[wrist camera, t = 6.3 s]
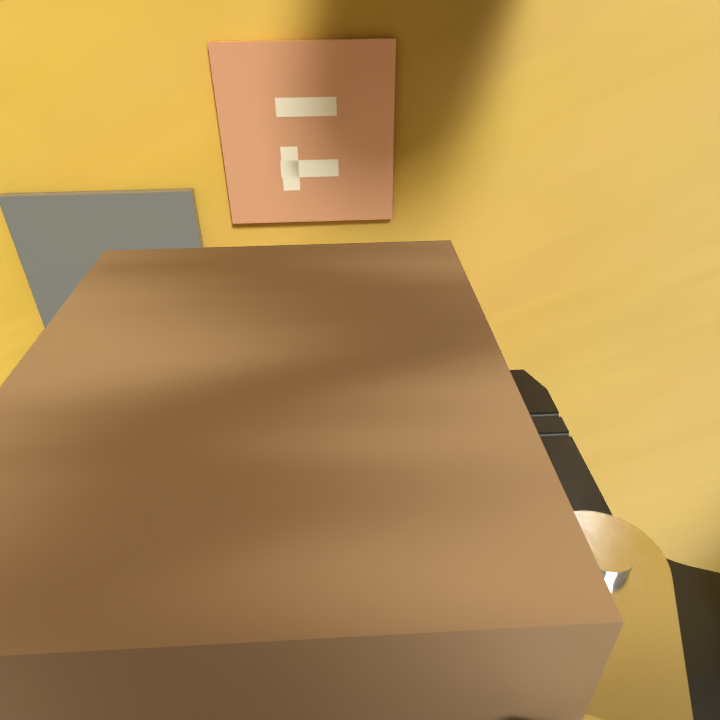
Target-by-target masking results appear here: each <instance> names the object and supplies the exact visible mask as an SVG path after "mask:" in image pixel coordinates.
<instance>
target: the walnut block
mask: <svg viewBox="0 0 720 720" xmlns="http://www.w3.org/2000/svg"><path fill="white" fill-rule="evenodd" d="M623 623H624V621H623V619H622V616H621V614H620V612H619V610H618V608H617V605H616V603H615V601H614V599H613V597H612V594H611V592H610V590H609V588H608V586H607V584H606V581H605V579H604V577H603V575H602V573H601V570H600V568H599V566H598V564H597V562H596V559H595V557H594V555H593V553H592V551H591V548H590V546H589V544H588V542H587V540H586V537H585V535H584V533H583V531H582V529H581V526H580V524H579V522H578V520H577V518H576V515H575V513H574V511H573V509H572V507H571V504H570V502H569V500H568V498H567V496H566V493H565V491H564V489H563V487H562V485H561V482H560V480H559V478H558V476H557V474H556V471H555V469H554V467H553V465H552V463H551V460H550V458H549V456H548V454H547V452H546V449H545V447H544V445H543V443H542V441H541V438H540V436H539V434H538V432H537V430H536V427H535V425H534V423H533V421H532V419H531V416H530V414H529V412H528V410H527V408H526V405H525V403H524V401H523V399H522V397H521V394H520V392H519V390H518V388H517V386H516V383H515V381H514V379H513V377H512V375H511V372H510V370H509V368H508V366H507V364H506V361H505V359H504V357H503V355H502V353H501V350H500V348H499V346H498V344H497V342H496V339H495V337H494V335H493V333H492V331H491V328H490V326H489V324H488V322H487V320H486V317H485V315H484V313H483V311H482V309H481V306H480V304H479V302H478V300H477V298H476V295H475V293H474V291H473V289H472V287H471V284H470V282H469V280H468V278H467V276H466V273H465V271H464V269H463V267H462V265H461V262H460V260H459V258H458V256H457V254H456V251H455V249H454V247H453V245H452V243H451V240H446V241H413V242H379V243H346V244H312V245H278V246H245V247H211V248H177V249H144V250H110V251H104V252H103V253H102V254H101V256H100V257H99V258H98V260H97V261H96V262H95V263H94V265H93V266H92V267H91V269H90V270H89V271H88V273H87V274H86V275H85V277H84V278H83V279H82V280H81V282H80V283H79V284H78V286H77V287H76V288H75V290H74V291H73V292H72V294H71V295H70V296H69V297H68V299H67V300H66V301H65V303H64V304H63V305H62V307H61V308H60V309H59V311H58V312H57V313H56V314H55V316H54V317H53V318H52V320H51V321H50V322H49V324H48V325H47V326H46V328H45V329H44V330H43V331H42V333H41V334H40V335H39V337H38V338H37V339H36V341H35V342H34V343H33V345H32V346H31V347H30V348H29V350H28V351H27V352H26V354H25V355H24V356H23V358H22V359H21V360H20V362H19V363H18V364H17V365H16V367H15V368H14V369H13V371H12V372H11V373H10V375H9V376H8V377H7V379H6V380H5V381H4V382H3V384H2V385H1V386H0V720H583V718H584V715H585V713H586V710H587V708H588V706H589V703H590V701H591V699H592V696H593V694H594V692H595V689H596V687H597V685H598V682H599V680H600V678H601V675H602V673H603V670H604V668H605V666H606V663H607V661H608V659H609V656H610V654H611V652H612V649H613V647H614V645H615V642H616V640H617V638H618V635H619V633H620V630H621V628H622V626H623Z"/></svg>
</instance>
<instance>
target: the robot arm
mask: <svg viewBox="0 0 720 720" xmlns="http://www.w3.org/2000/svg"><path fill="white" fill-rule="evenodd" d="M510 372H511V375H512V377H513V379H514V381H515V383H516V386H517V388H518V390H519V392H520V394H521V397H522V399H523V401H524V403H525V405H526V408H527V410H528V412H529V414H530V416H531V419H532V421H533V423H534V425H535V427H536V430H537V432H538V434H539V436H540V438H541V441H542V443H543V445H544V447H545V449H546V452H547V454H548V456H549V458H550V460H551V463H552V465H553V467H554V469H555V471H556V474H557V476H558V478H559V480H560V482H561V485H562V487H563V489H564V491H565V493H566V496H567V498H568V500H569V502H570V504H571V507H572V509H573V511H574V513H575V515H576V518H577V520H578V522H579V524H580V526H581V529H582V531H583V533H584V535H585V537H586V540H587V542H588V544H589V546H590V548H591V551H592V553H593V555H594V557H595V559H596V562H597V564H598V566H599V568H600V570H601V573H602V575H603V577H604V579H605V581H606V584H607V586H608V588H609V590H610V592H611V594H612V597H613V599H614V601H615V603H616V605H617V608H618V610H619V612H620V614H621V616H622V619H623V621H624V623H623V626H622V628H621V630H620V633H619V635H618V638H617V640H616V642H615V645H614V647H613V649H612V652H611V654H610V656H609V659H608V661H607V663H606V666H605V668H604V670H603V673H602V675H601V678H600V680H599V682H598V685H597V687H596V689H595V692H594V694H593V696H592V699H591V701H590V703H589V706H588V708H587V710H586V713H585V715H584V718H583V720H720V573H717V572H713V571H708V570H704V569H699V568H695V567H691V566H687V565H683V564H680V563H677V562H674V561H671V560H669V559H666V558H665V556H664V554H663V553H662V551H661V550H660V548H659V547H658V546H657V545H656V544H655V543H654V542H653V541H652V539H650V538H649V537H648V536H647V535H646V534H645V533H643V532H642V531H641V530H639V529H638V528H636V527H635V526H633V525H632V524H630V523H628V522H626V521H624V520H622V519H620V518H617V517H615V516H613V515H612V513H611V511H610V510H609V508H608V506H607V504H606V502H605V500H604V498H603V496H602V494H601V492H600V490H599V488H598V487H597V485H596V483H595V481H594V479H593V477H592V475H591V473H590V471H589V469H588V467H587V465H586V464H585V462H584V460H583V458H582V456H581V454H580V452H579V450H578V448H577V446H576V444H575V442H574V441H573V439H572V437H569V431H568V429H567V427H566V425H565V423H564V421H563V419H562V417H559V414H558V413H559V412H558V410H557V408H556V406H555V404H554V402H553V400H552V398H551V396H550V394H549V393H548V391H547V389H546V388H545V387H544V386H542V385H541V384H540V383H539V382H538V381H536V380H535V379H534V378H533V377H532V376H530V375H529V374H528V373H527V372H526V371H524V370H510Z"/></svg>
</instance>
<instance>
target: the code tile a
mask: <svg viewBox="0 0 720 720" xmlns="http://www.w3.org/2000/svg"><path fill="white" fill-rule="evenodd" d="M207 43H208V50H209V57H210V65H211V72H212V79H213V86H214V93H215V101H216V108H217V115H218V122H219V129H220V137H221V144H222V151H223V158H224V165H225V173H226V180H227V187H228V194H229V201H230V209H231V216H232V223H233V224H241V223H276V222H310V221H344V220H378V219H392V206H393V160H394V113H395V67H396V38H376V39H319V40H261V41H209V42H207Z"/></svg>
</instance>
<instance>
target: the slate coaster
mask: <svg viewBox="0 0 720 720" xmlns="http://www.w3.org/2000/svg"><path fill="white" fill-rule="evenodd" d="M0 206H1V209H2V212H3V215H4V217H5V220H6V223H7V226H8V228H9V231H10V234H11V236H12V239H13V242H14V245H15V247H16V250H17V253H18V256H19V258H20V261H21V264H22V267H23V269H24V272H25V275H26V277H27V280H28V283H29V286H30V288H31V291H32V294H33V297H34V299H35V302H36V305H37V308H38V310H39V313H40V316H41V318H42V321H43V324H44V327H45V328H46V326H47V325H48V324H49V322H50V321H51V320H52V318H53V317H54V316H55V314H56V313H57V312H58V311H59V309H60V308H61V307H62V305H63V304H64V303H65V301H66V300H67V299H68V297H69V296H70V295H71V294H72V292H73V291H74V290H75V288H76V287H77V286H78V284H79V283H80V282H81V280H82V279H83V278H84V277H85V275H86V274H87V273H88V271H89V270H90V269H91V267H92V266H93V265H94V263H95V262H96V261H97V260H98V258H99V257H100V256H101V254H102V253H103V252H104V251H110V250H144V249H177V248H204V247H203V242H202V236H201V230H200V224H199V218H198V213H197V207H196V201H195V195H194V189H193V188H191V189H154V190H117V191H79V192H42V193H5V194H0Z"/></svg>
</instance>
